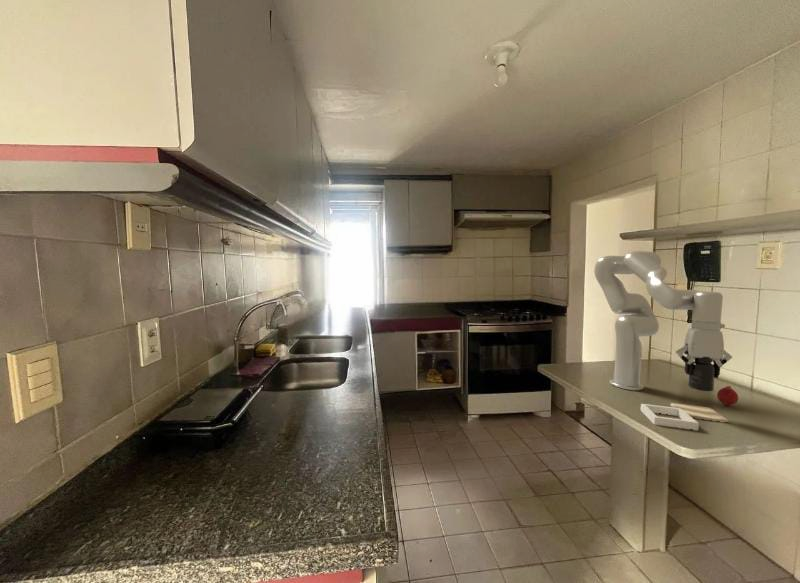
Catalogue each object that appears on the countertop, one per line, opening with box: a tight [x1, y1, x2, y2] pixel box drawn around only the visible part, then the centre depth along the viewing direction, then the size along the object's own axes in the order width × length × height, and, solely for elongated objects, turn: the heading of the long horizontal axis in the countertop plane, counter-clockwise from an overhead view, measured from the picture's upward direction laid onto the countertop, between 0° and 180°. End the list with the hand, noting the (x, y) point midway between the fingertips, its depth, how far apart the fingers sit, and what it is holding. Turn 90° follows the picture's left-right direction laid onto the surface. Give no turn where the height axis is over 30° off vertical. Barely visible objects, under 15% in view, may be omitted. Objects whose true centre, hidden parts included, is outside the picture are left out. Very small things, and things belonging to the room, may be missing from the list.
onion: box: [716, 385, 739, 407], centre depth 129 cm, size 6×6×8 cm
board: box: [670, 402, 729, 423], centre depth 122 cm, size 11×12×1 cm
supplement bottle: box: [688, 357, 716, 392], centre depth 120 cm, size 7×7×12 cm
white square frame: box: [640, 403, 700, 431], centre depth 116 cm, size 12×12×2 cm
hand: (701, 375), depth 120 cm, fingers closed on supplement bottle, 6 cm apart
